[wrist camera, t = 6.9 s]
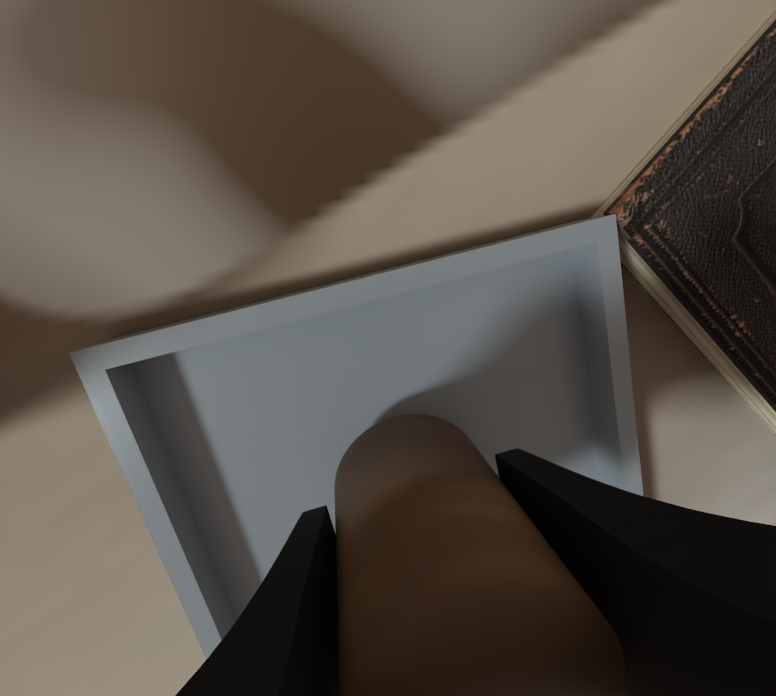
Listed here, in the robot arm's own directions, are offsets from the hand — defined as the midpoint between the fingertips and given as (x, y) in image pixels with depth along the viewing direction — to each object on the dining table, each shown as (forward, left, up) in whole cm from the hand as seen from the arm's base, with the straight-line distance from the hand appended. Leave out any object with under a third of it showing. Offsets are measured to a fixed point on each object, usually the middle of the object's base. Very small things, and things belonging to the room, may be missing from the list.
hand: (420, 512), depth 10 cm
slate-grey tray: (0, 0, -3) cm, 3 cm away
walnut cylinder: (0, 0, -2) cm, 2 cm away
